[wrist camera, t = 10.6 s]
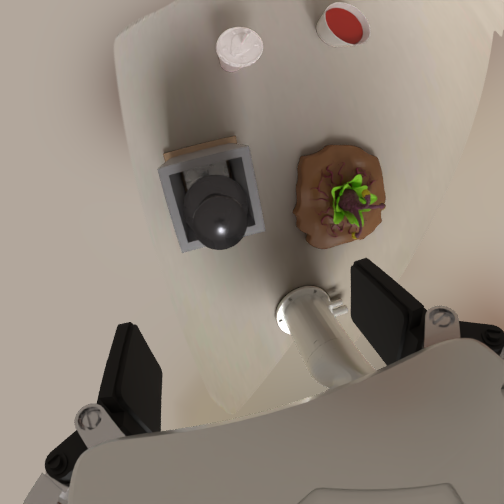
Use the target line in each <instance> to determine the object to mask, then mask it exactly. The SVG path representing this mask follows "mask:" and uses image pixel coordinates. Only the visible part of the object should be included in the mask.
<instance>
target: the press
mask: <svg viewBox="0 0 504 504" xmlns="http://www.w3.org/2000/svg"><path fill="white" fill-rule="evenodd" d="M163 155H164V159H165V163H164V164H163V165H162V166H160V167H159V168H158V173H159V177H160V180H161V184H162V188H163V191H164V195H165V198H166V202H167V205H168V209H169V212H170V215H171V219H172V222H173V225H174V229H175V232H176V235H177V238H178V242H179V245H180V248H181V251H182V253H184V252H187V251H191V250H195V249H198V248H202V247H206V246H205V245H203V244H202V243H201V242H200V241H199V240H198V239H197V237H196V235H195V233H194V231H193V230H192V229H191V228H190V227H189V226H188V224H187V222H186V220H185V218H184V214H183V203H184V198H185V195H186V193H187V191H188V189H187V185H186V181H185V178H184V174H183V171H186V170H189V169H193V168H197V167H201V166H205V165H209V164H213V163H217V162H221V161H225V160H226V164H227V169H228V173H229V178H231V179H233V180H234V181H235V182H237V183H238V184H239V185H240V187H241V188H242V189H243V191H244V192H245V195H246V197H247V201H248V212H247V229H246V232H245V235H244V236H248V235H252V234H256V233H260V232H264V231H266V230H265V225H264V220H263V214H262V209H261V204H260V199H259V194H258V189H257V184H256V179H255V174H254V169H253V164H252V159H251V154H250V149H249V146H246V145H241V144H237V140H236V136H231V137H227V138H222V139H218V140H213V141H209V142H205V143H201V144H197V145H193V146H189V147H186V148H182V149H178V150H175V151H171V152H168V153H164V154H163ZM244 236H243V237H244Z"/></svg>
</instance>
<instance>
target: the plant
mask: <svg viewBox="0 0 504 504" xmlns="http://www.w3.org/2000/svg"><path fill="white" fill-rule="evenodd" d="M297 169H298V181H297V184H296V195H297V203H296V206H295V208H294V210H293V213H294V214H295V215H296V217H297V222H296V226H297V227H298V228H299V229H300V230H301V231H302V232H304V233H307V236H306V241H307V242H308V243H309V244H310V245H312V246H314V247H316V248H319V249H327V248H331V247H334V246H337V245H340V244H343V243H348V242H351V241H354V240H357V239H360V240H361V239H364V238H365V237H366V236H367V235H369V234H370V233H372V232H373V231H374V230H375V228H376V227H377V226H378V225H379V224H380V223H381V222H382V219H381V210H384V209H385V207H386V205H385V204H384V203H385V200H386V197H385V191H384V184H383V176H382V170H381V167H380V163H379V160H378V158H377V157H375V156H372V155H370V154H368V153H366V152H365V151H364V150H362V149H361V148H359V147H356V146H352V145H327V146H325V147H324V148H323V149H322V150H320V151H319V152H317V153H314V154H310V155H307V156H301V157H300V161H299V164H298V168H297Z"/></svg>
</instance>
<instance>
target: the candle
mask: <svg viewBox="0 0 504 504" xmlns="http://www.w3.org/2000/svg"><path fill="white" fill-rule="evenodd" d="M316 30H317V33H318V36H319V37H320V39H321V40H322V41H323V42H325V43H326V44H328V45H329V46H332V47H347V46H355V45H361V44H364V43H365V42H367V41H368V39H369V37H370V34H371V29H370V24H369V22H368V20H367V18H366V17H365V15H364V14H363V13H362V12H361V11H360V10H359V9H357V8H356V7H354V6H352V5H350V4H348V3H343V2H336V3H332V4H331V5H329V6H328V7H327V8H326V10H325V11H324V13H323V14H322V16H321V18H320V19H319V21H318V23H317V26H316Z"/></svg>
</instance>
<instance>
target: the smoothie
mask: <svg viewBox="0 0 504 504" xmlns="http://www.w3.org/2000/svg"><path fill="white" fill-rule="evenodd" d="M216 52H217V54H218V57H219V58H220V65H221V67H222V68H223V69H224V70H225V71H228V72H235V71H237V70H239V69H241V68H242V67H246V66H249V65H252V64H253V63H255V62H256V61H257V60H258V59H259V58H260V56H261V54H262V52H263V42H262V39H261V37H260V36H259V35H258V34H257V33H256V32H255V31H253V30H252V29H249V28H246V27H232V28H229V29H227V30H225V31H224V32H223V33H222V34H221V35H220V36H219V38H218V40H217V42H216Z"/></svg>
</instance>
